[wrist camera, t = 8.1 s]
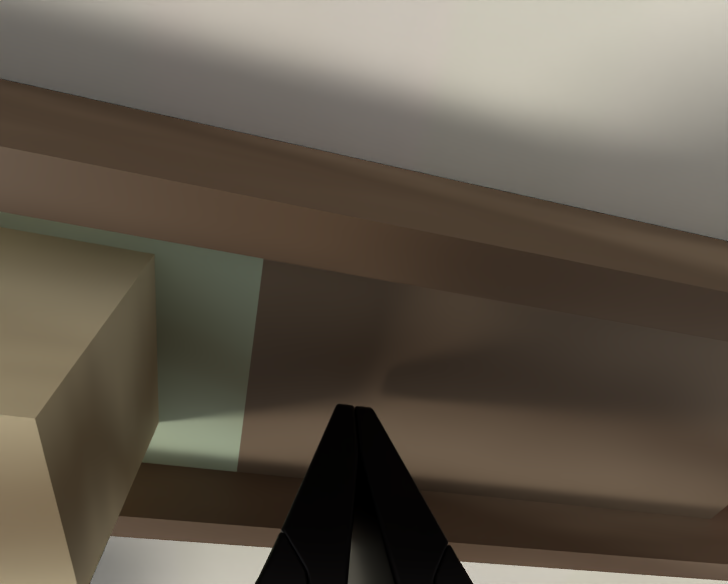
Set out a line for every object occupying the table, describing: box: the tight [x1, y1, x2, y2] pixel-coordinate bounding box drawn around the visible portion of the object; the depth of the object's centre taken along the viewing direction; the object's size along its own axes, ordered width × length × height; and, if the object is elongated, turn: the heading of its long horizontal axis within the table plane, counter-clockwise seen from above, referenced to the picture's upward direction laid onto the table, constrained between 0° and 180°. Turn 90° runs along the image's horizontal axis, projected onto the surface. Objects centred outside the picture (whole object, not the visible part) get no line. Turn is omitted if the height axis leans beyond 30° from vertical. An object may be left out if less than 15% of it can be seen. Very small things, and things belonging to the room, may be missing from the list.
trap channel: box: [0, 79, 728, 581], centre depth 11 cm, size 10×37×3 cm, turn 77°
